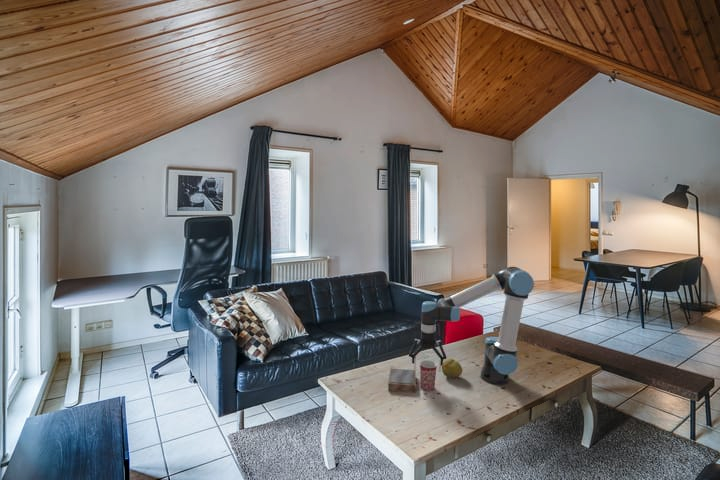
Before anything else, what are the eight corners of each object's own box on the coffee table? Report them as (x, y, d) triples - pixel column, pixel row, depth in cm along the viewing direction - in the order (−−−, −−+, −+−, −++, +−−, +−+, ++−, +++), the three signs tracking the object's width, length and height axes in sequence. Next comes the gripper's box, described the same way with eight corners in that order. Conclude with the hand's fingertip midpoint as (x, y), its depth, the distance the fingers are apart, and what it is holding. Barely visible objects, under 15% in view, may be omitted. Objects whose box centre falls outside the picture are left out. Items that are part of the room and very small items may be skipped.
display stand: (415, 377, 217) (415, 369, 216) (415, 392, 199) (415, 384, 198) (390, 375, 219) (390, 367, 218) (388, 390, 201) (388, 382, 200)
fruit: (445, 382, 210) (446, 365, 209) (438, 373, 222) (438, 356, 220) (465, 381, 212) (465, 364, 211) (456, 372, 223) (457, 355, 222)
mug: (438, 391, 200) (439, 366, 199) (421, 392, 199) (422, 367, 198) (431, 380, 213) (431, 356, 211) (415, 381, 211) (415, 357, 210)
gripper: (451, 330, 205) (449, 368, 207) (405, 327, 208) (404, 365, 210) (452, 334, 197) (451, 375, 199) (404, 332, 201) (403, 371, 203)
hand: (427, 370), depth 205 cm, fingers open, 12 cm apart
